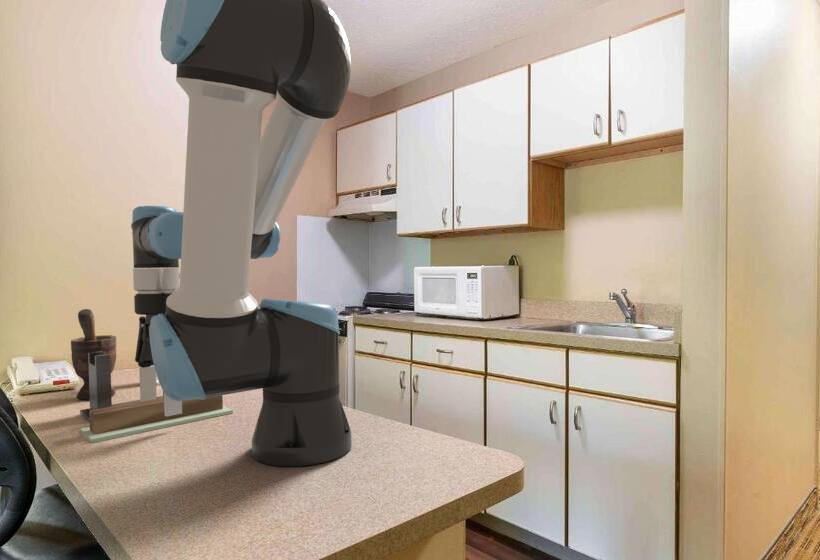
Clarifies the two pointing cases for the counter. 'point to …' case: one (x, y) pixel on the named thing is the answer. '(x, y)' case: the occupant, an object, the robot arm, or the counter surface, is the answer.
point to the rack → (100, 383)
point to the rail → (146, 413)
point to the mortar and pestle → (90, 350)
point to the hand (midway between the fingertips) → (160, 407)
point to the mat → (152, 425)
